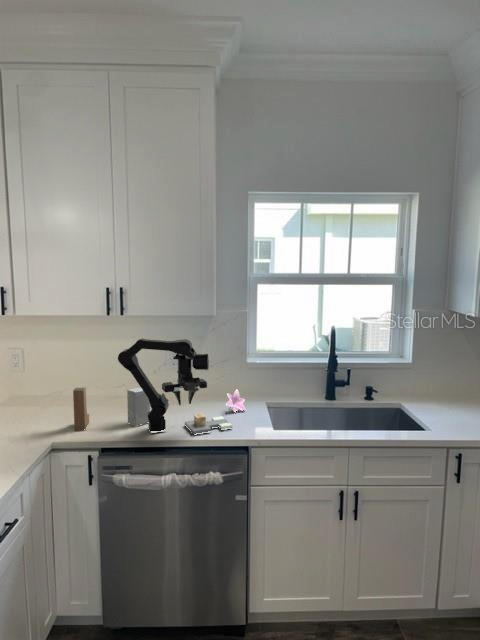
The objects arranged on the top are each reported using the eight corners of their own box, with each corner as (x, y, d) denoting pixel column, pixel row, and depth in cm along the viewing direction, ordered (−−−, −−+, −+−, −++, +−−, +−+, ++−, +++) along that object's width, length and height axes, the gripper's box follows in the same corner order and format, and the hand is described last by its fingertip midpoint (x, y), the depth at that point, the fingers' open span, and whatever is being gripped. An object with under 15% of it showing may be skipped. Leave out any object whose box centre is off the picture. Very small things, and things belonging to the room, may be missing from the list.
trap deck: (193, 435, 185) (193, 431, 184) (184, 426, 195) (184, 421, 195) (232, 429, 192) (232, 425, 192) (221, 420, 203) (221, 416, 203)
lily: (221, 416, 211) (229, 402, 207) (218, 400, 221) (225, 386, 217) (243, 421, 215) (251, 407, 211) (239, 405, 225) (247, 391, 221)
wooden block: (79, 423, 196) (77, 384, 194) (89, 423, 197) (88, 384, 195) (74, 430, 188) (72, 390, 185) (85, 430, 188) (83, 390, 186)
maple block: (197, 426, 189) (197, 418, 189) (194, 423, 193) (194, 415, 192) (205, 425, 191) (205, 416, 190) (202, 422, 194) (202, 413, 194)
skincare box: (135, 427, 193) (134, 392, 190) (126, 423, 197) (125, 389, 195) (151, 422, 199) (151, 389, 197) (142, 418, 204) (142, 385, 201)
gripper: (168, 375, 174) (168, 413, 176) (212, 371, 182) (211, 407, 184) (161, 369, 184) (161, 405, 186) (202, 365, 192) (202, 400, 194)
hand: (184, 404), depth 188 cm, fingers open, 4 cm apart
